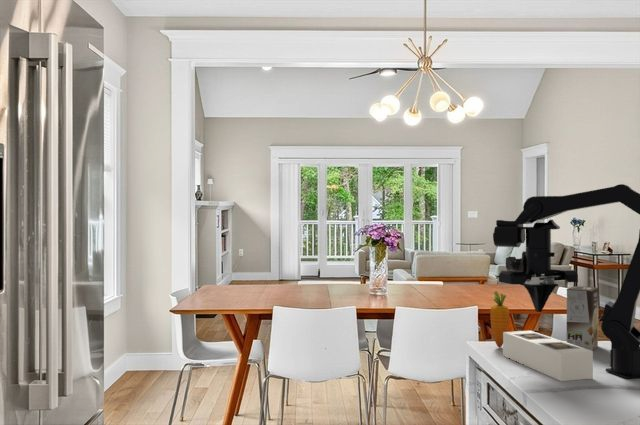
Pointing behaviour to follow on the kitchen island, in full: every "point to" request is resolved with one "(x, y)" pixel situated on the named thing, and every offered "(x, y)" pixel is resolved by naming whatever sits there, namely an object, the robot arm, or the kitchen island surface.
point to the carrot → (499, 319)
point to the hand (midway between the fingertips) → (538, 311)
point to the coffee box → (582, 317)
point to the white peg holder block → (549, 356)
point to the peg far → (531, 336)
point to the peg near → (558, 346)
